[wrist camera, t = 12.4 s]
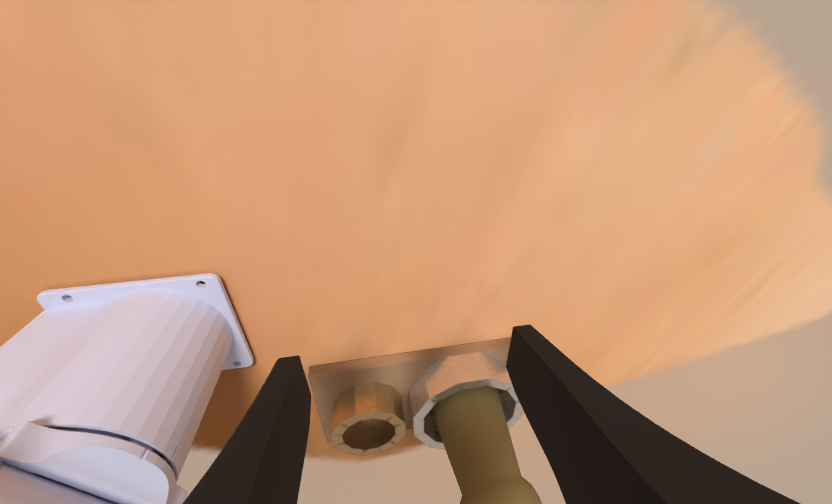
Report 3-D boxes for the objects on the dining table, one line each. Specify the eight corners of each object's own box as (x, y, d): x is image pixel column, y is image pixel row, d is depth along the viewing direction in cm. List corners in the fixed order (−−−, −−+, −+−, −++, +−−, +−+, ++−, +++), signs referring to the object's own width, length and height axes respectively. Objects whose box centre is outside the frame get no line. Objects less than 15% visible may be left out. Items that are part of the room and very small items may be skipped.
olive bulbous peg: (495, 397, 30) (560, 555, 20) (431, 415, 29) (467, 582, 20) (492, 354, 26) (567, 518, 17) (419, 373, 26) (456, 550, 17)
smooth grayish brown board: (328, 431, 30) (327, 442, 29) (309, 366, 25) (308, 377, 24) (505, 401, 32) (509, 411, 31) (518, 336, 27) (524, 345, 26)
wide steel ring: (410, 428, 30) (414, 457, 28) (407, 362, 25) (412, 390, 23) (504, 412, 31) (515, 438, 29) (519, 345, 26) (533, 371, 24)
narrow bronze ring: (338, 429, 28) (337, 460, 26) (328, 389, 25) (326, 419, 23) (402, 418, 29) (406, 447, 27) (400, 378, 26) (404, 407, 24)
